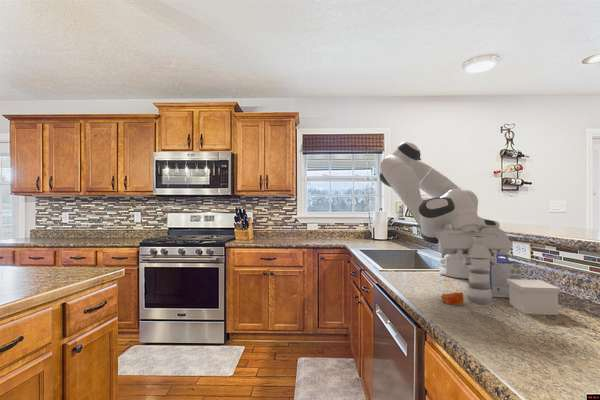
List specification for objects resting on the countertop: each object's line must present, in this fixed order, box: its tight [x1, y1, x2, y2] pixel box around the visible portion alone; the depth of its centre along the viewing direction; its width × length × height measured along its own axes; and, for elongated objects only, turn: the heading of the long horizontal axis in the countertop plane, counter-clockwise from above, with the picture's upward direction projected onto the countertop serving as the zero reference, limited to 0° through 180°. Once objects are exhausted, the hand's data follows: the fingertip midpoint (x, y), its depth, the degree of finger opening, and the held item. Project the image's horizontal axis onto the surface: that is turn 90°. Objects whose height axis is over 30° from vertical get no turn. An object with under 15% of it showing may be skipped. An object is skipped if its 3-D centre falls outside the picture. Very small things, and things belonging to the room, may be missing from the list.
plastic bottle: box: [466, 236, 493, 306], centre depth 93 cm, size 6×7×20 cm
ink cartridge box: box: [489, 254, 523, 299], centre depth 111 cm, size 10×6×14 cm, turn 78°
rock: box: [440, 292, 465, 306], centre depth 105 cm, size 12×12×4 cm
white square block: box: [507, 279, 562, 316], centre depth 97 cm, size 10×10×8 cm
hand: (480, 264), depth 92 cm, fingers closed on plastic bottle, 6 cm apart
